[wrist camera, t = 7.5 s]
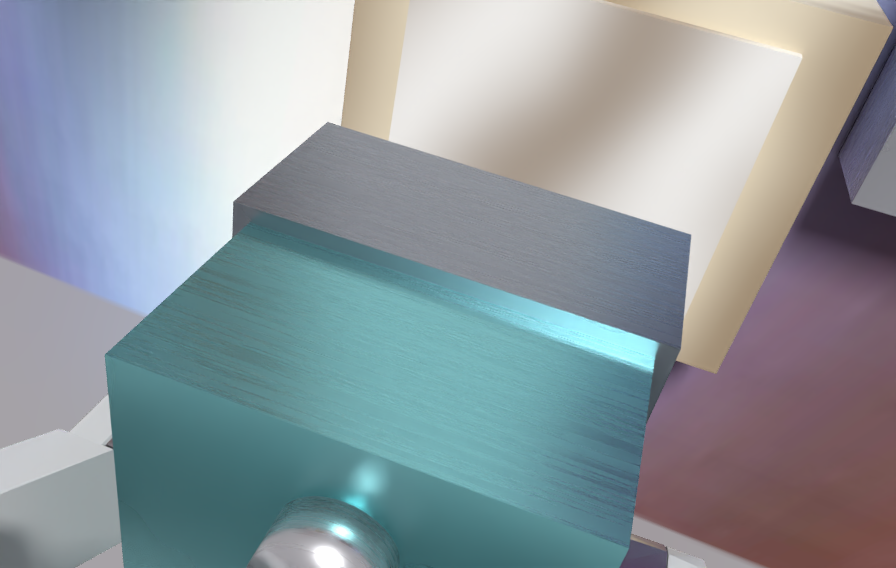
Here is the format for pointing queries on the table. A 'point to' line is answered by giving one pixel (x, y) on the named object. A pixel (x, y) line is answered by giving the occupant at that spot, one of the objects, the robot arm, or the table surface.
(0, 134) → the table surface
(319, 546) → the block
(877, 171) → the stand
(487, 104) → the stand
